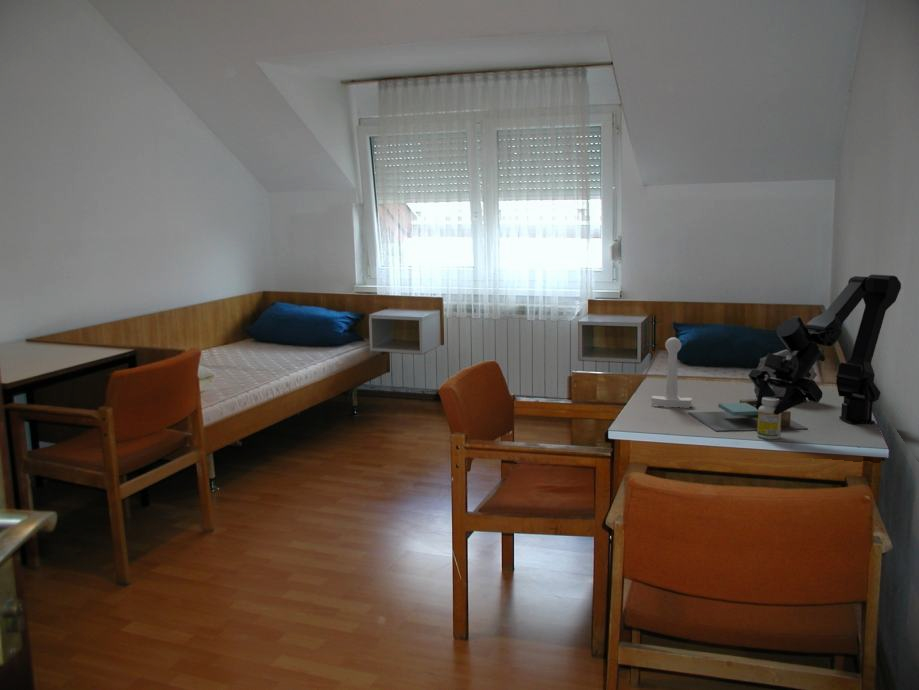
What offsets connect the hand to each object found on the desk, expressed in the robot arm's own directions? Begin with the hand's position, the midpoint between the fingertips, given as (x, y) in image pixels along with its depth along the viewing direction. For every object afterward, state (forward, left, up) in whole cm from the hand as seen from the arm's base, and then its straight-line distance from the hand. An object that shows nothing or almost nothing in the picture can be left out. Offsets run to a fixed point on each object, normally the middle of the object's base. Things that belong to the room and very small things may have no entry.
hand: (765, 411), depth 196 cm
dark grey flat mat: (-2, -17, -7) cm, 18 cm away
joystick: (+11, -38, -7) cm, 40 cm away
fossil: (-25, -43, -7) cm, 50 cm away
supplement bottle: (-1, -1, -7) cm, 7 cm away
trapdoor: (-4, -17, -5) cm, 18 cm away
